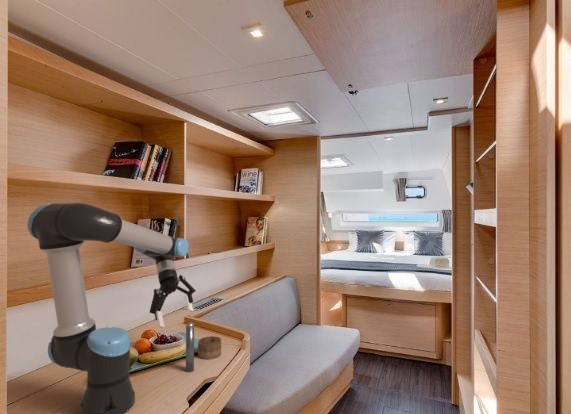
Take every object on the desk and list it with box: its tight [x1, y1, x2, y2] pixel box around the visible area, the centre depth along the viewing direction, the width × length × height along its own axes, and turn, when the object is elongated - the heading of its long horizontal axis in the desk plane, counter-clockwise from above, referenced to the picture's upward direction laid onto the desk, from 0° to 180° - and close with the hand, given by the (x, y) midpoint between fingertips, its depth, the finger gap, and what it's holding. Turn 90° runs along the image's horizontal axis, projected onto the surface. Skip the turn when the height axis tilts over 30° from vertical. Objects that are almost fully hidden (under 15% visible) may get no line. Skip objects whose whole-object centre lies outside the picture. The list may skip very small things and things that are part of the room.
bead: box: [197, 335, 222, 361], centre depth 139 cm, size 10×10×6 cm
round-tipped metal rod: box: [185, 321, 195, 373], centre depth 125 cm, size 3×3×18 cm
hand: (176, 319), depth 127 cm, fingers open, 13 cm apart
